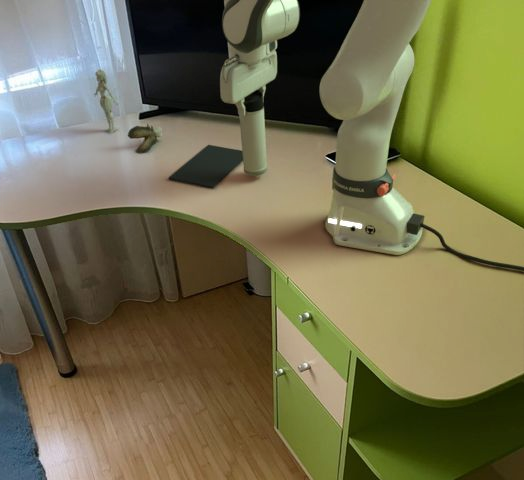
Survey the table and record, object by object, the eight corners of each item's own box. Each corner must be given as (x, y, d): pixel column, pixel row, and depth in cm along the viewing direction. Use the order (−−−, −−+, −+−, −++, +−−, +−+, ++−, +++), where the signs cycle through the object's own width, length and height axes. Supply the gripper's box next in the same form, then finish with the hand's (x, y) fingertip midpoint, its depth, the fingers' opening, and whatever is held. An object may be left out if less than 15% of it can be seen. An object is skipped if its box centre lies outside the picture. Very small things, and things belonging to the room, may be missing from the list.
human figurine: (97, 127, 180) (82, 68, 167) (106, 123, 182) (92, 64, 169) (119, 137, 174) (105, 76, 161) (129, 133, 176) (116, 72, 163)
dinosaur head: (142, 134, 172) (123, 140, 165) (151, 115, 167) (131, 121, 160) (160, 151, 172) (141, 158, 165) (169, 133, 167) (150, 139, 160)
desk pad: (250, 154, 161) (250, 152, 161) (212, 188, 148) (212, 186, 147) (208, 146, 166) (208, 144, 166) (168, 179, 152) (168, 177, 152)
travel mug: (272, 167, 151) (268, 91, 137) (258, 178, 147) (254, 99, 133) (252, 163, 154) (247, 87, 140) (239, 173, 150) (232, 96, 136)
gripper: (233, 64, 122) (238, 126, 132) (280, 38, 134) (282, 97, 144) (210, 60, 125) (217, 122, 134) (258, 36, 137) (261, 94, 146)
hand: (251, 109), depth 139 cm, fingers closed on travel mug, 6 cm apart
